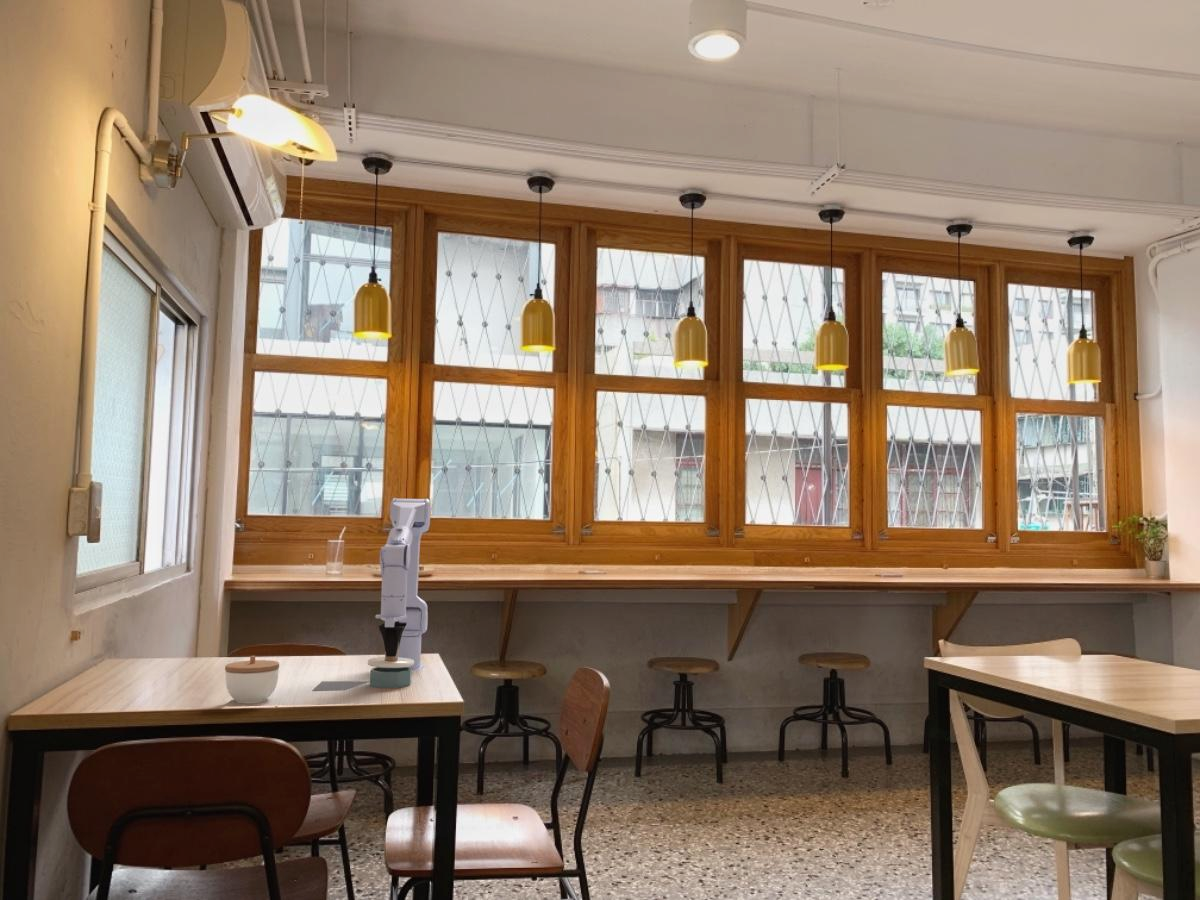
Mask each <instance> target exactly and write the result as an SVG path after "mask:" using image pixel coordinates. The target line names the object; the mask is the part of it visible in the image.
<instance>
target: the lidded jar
mask: <svg viewBox="0 0 1200 900" xmlns="http://www.w3.org/2000/svg"><path fill="white" fill-rule="evenodd" d="M224 667H225V668H224V669H225V670H224V671H225V685H226V689H227V692H228V694H229V696H230V697H231V698H232V699H233V700H235V702H236V703H237V704H256V703H262V702H265V701H267V700H268V698H270V697H271V695H273V693H275V690H276V688H277V685H278V680H279V673H280V672H279V671H280V670H279V668H280V662H278V661H276V660H270V659H269V660H266V659H265V660H264V659H262V660H260V659H257V660H256V655H250V656H249V660H242V661H235V662H234V661H233V662H231V663H227V664H226V665H225V666H224Z"/></svg>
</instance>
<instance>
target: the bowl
mask: <svg viewBox="0 0 1200 900" xmlns="http://www.w3.org/2000/svg"><path fill="white" fill-rule="evenodd" d="M369 674H370V675H369V676H370V677H369V687H371V688H372V687H373V688H378V689H396V688H403V687H409V686H411V684H412V681H413V678H412V677H413V670H412V668H410V667H402V668H381V667H372V668H371V669H370V673H369Z"/></svg>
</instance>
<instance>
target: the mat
mask: <svg viewBox="0 0 1200 900" xmlns="http://www.w3.org/2000/svg"><path fill="white" fill-rule="evenodd" d="M367 683H370V680H369V681H365V680H364V681H363V680H362V681H361V680H359V681H357V680H355V681H353V680H352V681H349V680H346V681H339V680H337V681H336V680H335V681H325V680H324V681H321V682H320V683H318V684H317V685H316V686H315V687H314V688H313V689H312V690H311V691H312V692H327V691H329V692H333V691H348V690H350V689H353V688H356V687H359V686H362V685H365V684H367Z"/></svg>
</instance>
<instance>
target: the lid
mask: <svg viewBox="0 0 1200 900" xmlns="http://www.w3.org/2000/svg"><path fill="white" fill-rule="evenodd" d="M398 649H399V643H398ZM398 649H397V654H396V656H395V657H387V656H386V653H385V652H384V656H380V657H373V658H369V659H368V660H367V665H368V666H370V667H372V668H375V667H381V668H402V667H410V666H413V665H414V660H413V659H409V658H402V657H398Z"/></svg>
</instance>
